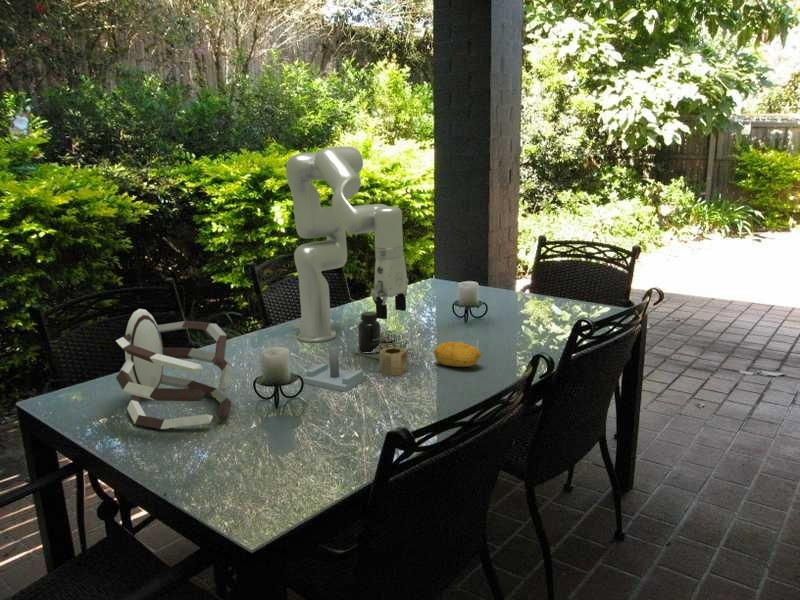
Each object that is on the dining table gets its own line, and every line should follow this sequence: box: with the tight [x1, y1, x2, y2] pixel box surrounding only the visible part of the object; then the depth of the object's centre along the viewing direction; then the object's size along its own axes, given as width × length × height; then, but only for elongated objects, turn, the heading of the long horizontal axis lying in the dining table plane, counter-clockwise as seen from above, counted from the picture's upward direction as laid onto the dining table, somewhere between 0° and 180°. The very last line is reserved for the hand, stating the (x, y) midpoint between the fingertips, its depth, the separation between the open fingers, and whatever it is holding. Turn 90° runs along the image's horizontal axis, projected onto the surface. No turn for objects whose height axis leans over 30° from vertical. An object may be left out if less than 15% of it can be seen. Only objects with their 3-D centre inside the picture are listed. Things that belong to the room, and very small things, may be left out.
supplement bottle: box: [357, 311, 382, 353], centre depth 202 cm, size 7×7×12 cm
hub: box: [378, 346, 408, 377], centre depth 185 cm, size 7×7×6 cm
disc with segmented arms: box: [115, 308, 234, 430], centre depth 160 cm, size 24×27×35 cm
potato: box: [433, 341, 482, 368], centre depth 188 cm, size 8×14×7 cm, turn 56°
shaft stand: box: [302, 346, 368, 393], centre depth 178 cm, size 14×10×10 cm
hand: (391, 314), depth 181 cm, fingers open, 9 cm apart
